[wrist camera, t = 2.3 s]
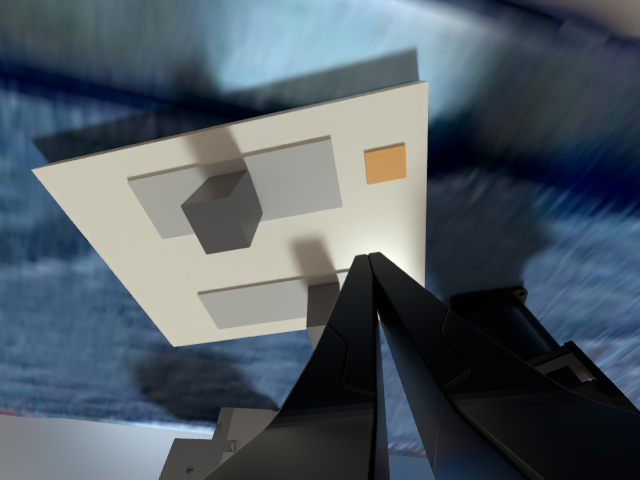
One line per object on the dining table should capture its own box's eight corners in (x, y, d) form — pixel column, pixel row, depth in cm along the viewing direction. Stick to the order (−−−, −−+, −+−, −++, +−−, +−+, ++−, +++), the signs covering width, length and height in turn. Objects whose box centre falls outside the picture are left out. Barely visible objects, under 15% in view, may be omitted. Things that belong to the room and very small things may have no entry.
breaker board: (419, 80, 15) (429, 81, 14) (418, 300, 25) (424, 315, 23) (51, 162, 18) (28, 170, 16) (180, 333, 27) (172, 348, 26)
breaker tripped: (247, 169, 16) (228, 196, 13) (263, 213, 18) (249, 247, 14) (208, 177, 16) (180, 205, 13) (227, 219, 18) (206, 254, 15)
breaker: (339, 281, 21) (342, 322, 18) (344, 307, 23) (349, 349, 19) (308, 286, 21) (306, 327, 18) (315, 311, 23) (315, 354, 20)
